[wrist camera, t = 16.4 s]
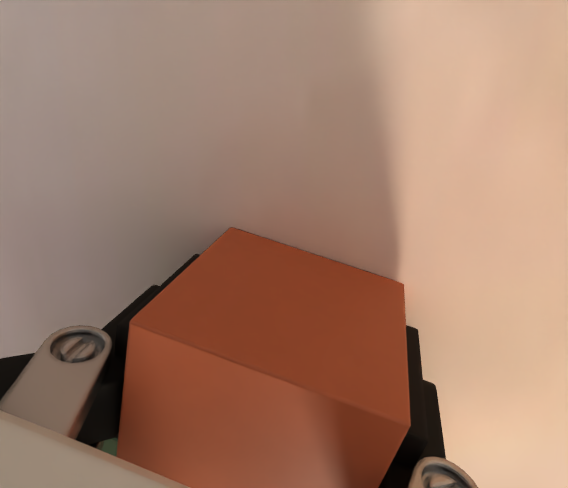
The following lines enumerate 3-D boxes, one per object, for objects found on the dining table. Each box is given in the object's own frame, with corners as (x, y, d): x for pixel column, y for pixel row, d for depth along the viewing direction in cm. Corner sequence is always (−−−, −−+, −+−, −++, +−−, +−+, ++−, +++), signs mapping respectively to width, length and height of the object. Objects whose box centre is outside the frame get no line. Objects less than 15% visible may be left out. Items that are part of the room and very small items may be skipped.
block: (230, 225, 12) (127, 320, 7) (404, 282, 11) (412, 425, 7) (203, 361, 14) (110, 500, 9) (348, 415, 13) (325, 592, 9)
